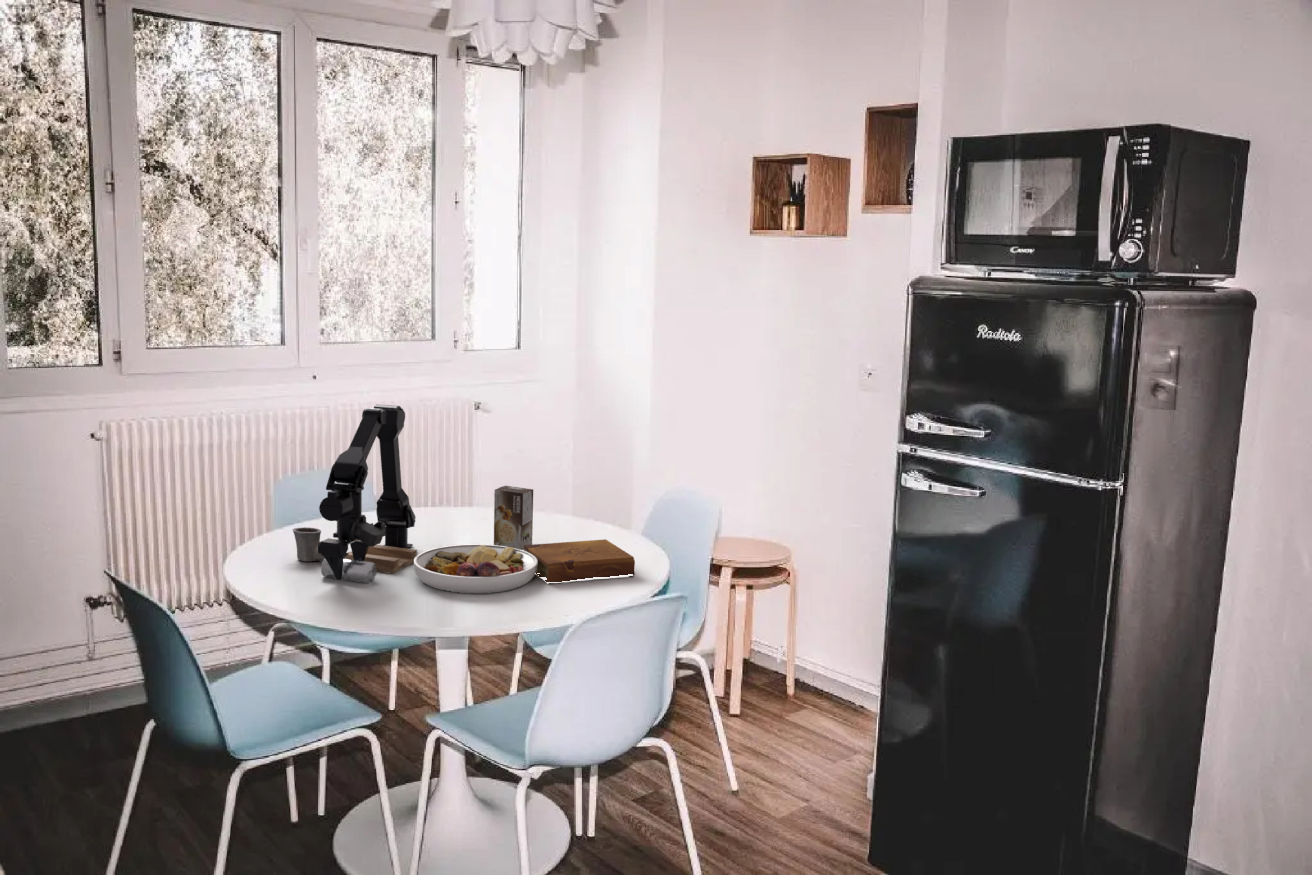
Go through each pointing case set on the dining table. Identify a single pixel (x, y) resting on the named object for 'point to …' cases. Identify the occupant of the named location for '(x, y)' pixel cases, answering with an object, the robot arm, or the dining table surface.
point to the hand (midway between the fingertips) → (348, 574)
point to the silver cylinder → (352, 570)
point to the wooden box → (580, 560)
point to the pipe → (307, 544)
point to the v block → (388, 558)
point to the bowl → (475, 568)
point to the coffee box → (513, 517)
